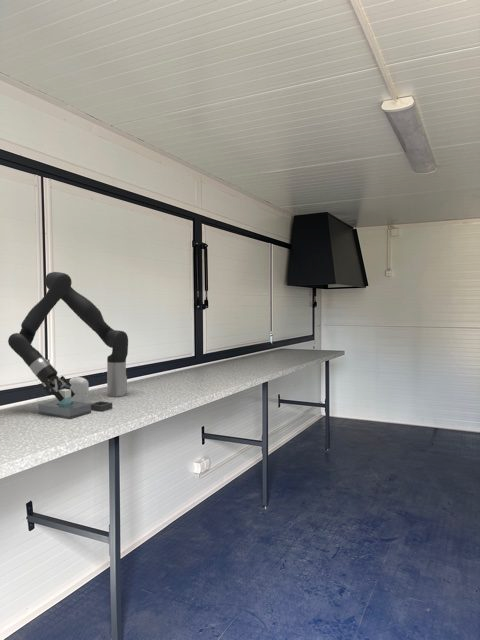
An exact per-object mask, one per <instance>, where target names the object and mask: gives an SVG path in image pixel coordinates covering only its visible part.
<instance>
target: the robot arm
mask: <svg viewBox="0 0 480 640" xmlns="http://www.w3.org/2000/svg"><path fill="white" fill-rule="evenodd" d="M72 283H73V282H72V278H71V276H70V275H69V274H67V273H65V272H59V271H52V272H48V273H47V274H46V276H45V278H44V284H45V286H46V288H47V290H48V291H47V292H46V293H45V294H44V296H43V297H42V299H41V300H40V301H38V302H37V303H36V304H35V305H34V306H32V308H31V309H30V310H29V312H28V313H27V315H26V316H25V318H24V319H23V321H22V323H20V326H21V329H20V331H19V332H15V333H12V334H11V335H9V337H8V340H7V343H8V346H9V347H10V348H11V349H12V350H13V351H14V352H15V353H16V355H18V356H19V357H20V358H21V359H22V360H23V362H24V363H25V364H26V365H27V367H28V368H29V369H30V370H31V372H32V373H33V375H34V376H35V377H37V379H38V380H39V381H40V382H41V385H40V386H41V387H42V388H43V389H44V391H45V392H46V393H47V395H48V396H54V397H55V398H56V400H59V401H62V400H63V399H64V397H63V396H62V395H61V394H60V393H59V390H63V389H69V390H71V389H70V387H71V384H70V383H69V380H68V379H66V378H65V376H63V375H61V376H60V377H59V376H58V371H57V369H55V367H54V366H53V365H52V364H51V363H50V362H49V360H47V359H46V358H45V357H44V356H43V355H42V353H40V351H39V350H37V349H36V348H35V347H34V346H33V345H32V344H33V341H34V338H35V336H36V333H37V331H39V328H40V327H41V325H42V324H43V322H45V320H46V318H47V316H48V315H49V313H50V312H51V311H52V309H53V308H54V307H55V306H56V305H57V303H58V302H59V301H60V300H62V301H63V302H64V303H65V304H66V306H67V307H68V308H69V309H70V310H71V311H73V312H74V314H75V315H76V316H77V317H78V318H79V319H81V321H82V322H83V323H85V325H87V326H88V327H89V328H90V329H91V330H92V331H93V332H95V334H96V335H97V336H98V337H99V338H100V339H101V341H102V342H103V343H104V344H105V345H106V346H107V347H108V348H111V351H112V352H111V354H110V355H108V356H107V359H106V361H107V362H106V365H107V369H106V370H107V371H106V373H107V374H106V377H107V378H106V379H107V380H106V383H107V384H106V387H107V388H106V393H107V394H106V395H107V397H112V398H113V397H114V398H116V397H124V396H126V395H127V394H128V376H127V357H128V355H129V354H128V352H129V338H128V337H129V336H128V334H127V332H125V331H123V330H117V329H114V328H112V327H111V326H110V325H108V324H107V322H106V321H105V319H104V316H103V315H102V312H101V311H100V309H99V308H98V307H97V306H96V305H95V304H94V303H93V302H92V301H91V300H89V298H87V297H85V296H84V295H82V294H80V293H79V292H77V291H76V290H75V289H74V288H73V287H72ZM74 395H75V393H74V392H73V391H72V390H71V397H73V396H74Z"/></svg>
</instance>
